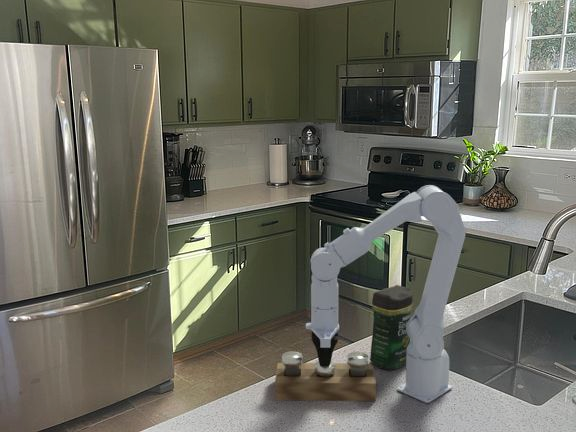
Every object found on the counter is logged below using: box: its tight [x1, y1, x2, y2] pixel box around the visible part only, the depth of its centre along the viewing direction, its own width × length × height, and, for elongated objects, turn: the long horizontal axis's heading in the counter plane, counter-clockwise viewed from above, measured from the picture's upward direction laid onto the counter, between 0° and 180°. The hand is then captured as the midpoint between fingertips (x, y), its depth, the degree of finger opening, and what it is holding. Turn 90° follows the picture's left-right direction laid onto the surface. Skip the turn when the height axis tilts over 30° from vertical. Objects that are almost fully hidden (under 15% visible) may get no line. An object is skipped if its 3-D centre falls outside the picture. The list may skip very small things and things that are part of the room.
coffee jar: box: [369, 284, 414, 371], centre depth 132 cm, size 10×8×19 cm
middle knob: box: [314, 360, 335, 377], centre depth 121 cm, size 4×4×6 cm
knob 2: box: [346, 351, 369, 377], centre depth 120 cm, size 4×4×6 cm
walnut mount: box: [274, 362, 377, 402], centre depth 121 cm, size 21×9×4 cm, turn 87°
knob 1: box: [281, 350, 304, 377], centre depth 121 cm, size 4×4×6 cm
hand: (324, 364), depth 121 cm, fingers closed, pressing on middle knob
